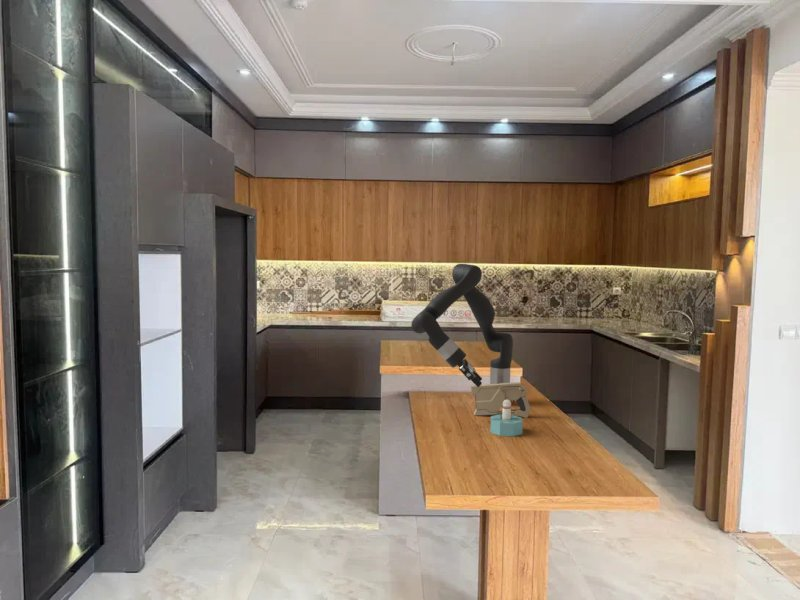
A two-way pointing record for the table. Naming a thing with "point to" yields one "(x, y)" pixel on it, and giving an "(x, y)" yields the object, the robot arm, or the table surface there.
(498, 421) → the bead
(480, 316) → the robot arm
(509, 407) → the striped domed peg
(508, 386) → the gun
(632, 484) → the table surface
